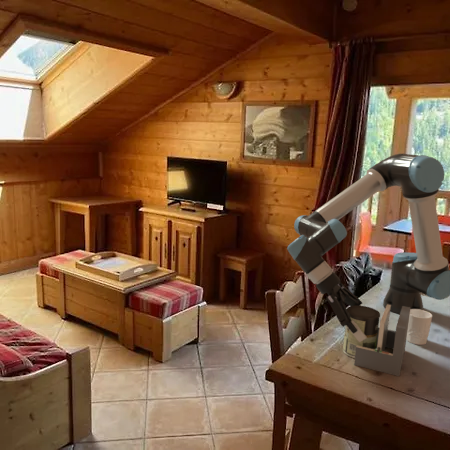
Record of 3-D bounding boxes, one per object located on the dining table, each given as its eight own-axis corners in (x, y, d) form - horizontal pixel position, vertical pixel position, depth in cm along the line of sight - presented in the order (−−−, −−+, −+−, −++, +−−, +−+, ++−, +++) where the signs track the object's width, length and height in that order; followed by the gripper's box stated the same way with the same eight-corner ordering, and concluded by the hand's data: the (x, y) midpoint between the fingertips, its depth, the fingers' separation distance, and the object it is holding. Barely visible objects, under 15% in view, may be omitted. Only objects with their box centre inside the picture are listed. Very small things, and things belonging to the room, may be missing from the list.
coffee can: (373, 347, 152) (378, 307, 149) (377, 362, 142) (382, 319, 139) (341, 343, 153) (345, 303, 150) (343, 357, 144) (347, 315, 141)
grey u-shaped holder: (404, 350, 150) (410, 307, 147) (399, 376, 134) (405, 329, 131) (364, 341, 155) (368, 299, 152) (354, 365, 139) (359, 319, 136)
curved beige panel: (386, 344, 151) (390, 305, 148) (378, 369, 135) (383, 326, 132) (382, 343, 152) (387, 304, 149) (373, 368, 136) (379, 325, 133)
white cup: (427, 337, 160) (431, 311, 158) (429, 347, 153) (433, 319, 150) (403, 333, 162) (406, 307, 160) (404, 343, 155) (407, 315, 153)
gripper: (324, 274, 161) (363, 322, 158) (304, 296, 139) (349, 353, 136) (341, 262, 157) (381, 311, 154) (323, 282, 135) (370, 341, 132)
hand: (366, 331), depth 145 cm, fingers open, 13 cm apart
